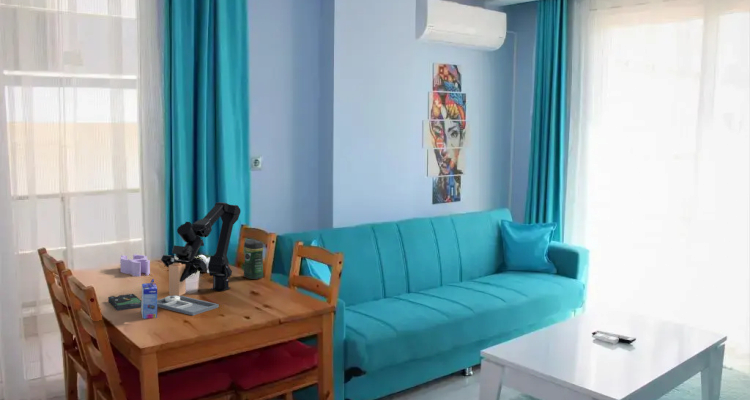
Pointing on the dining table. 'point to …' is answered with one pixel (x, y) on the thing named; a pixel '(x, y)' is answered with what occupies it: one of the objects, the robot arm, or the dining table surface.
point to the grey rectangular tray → (186, 304)
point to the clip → (135, 265)
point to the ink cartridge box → (149, 300)
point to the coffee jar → (253, 259)
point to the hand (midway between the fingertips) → (175, 280)
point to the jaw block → (176, 279)
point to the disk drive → (125, 302)
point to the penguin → (205, 261)
